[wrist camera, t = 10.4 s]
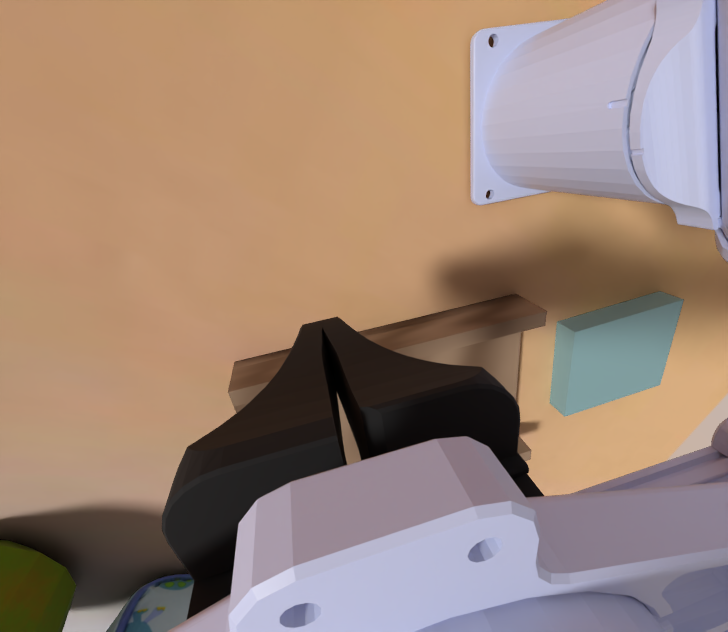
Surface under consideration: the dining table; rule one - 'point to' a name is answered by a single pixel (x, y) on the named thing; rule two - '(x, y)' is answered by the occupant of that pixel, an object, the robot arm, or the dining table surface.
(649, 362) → the teal square tile
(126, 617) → the lunch box
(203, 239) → the dining table surface
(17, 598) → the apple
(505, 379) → the box
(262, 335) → the dining table surface
